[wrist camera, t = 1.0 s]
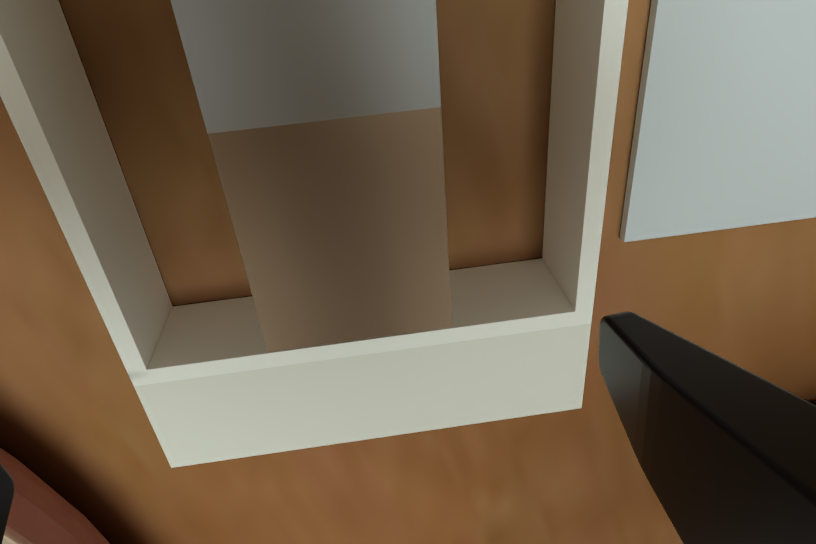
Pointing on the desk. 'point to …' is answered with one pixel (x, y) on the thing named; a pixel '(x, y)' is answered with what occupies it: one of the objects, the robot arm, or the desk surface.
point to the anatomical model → (42, 512)
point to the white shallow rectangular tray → (342, 361)
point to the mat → (723, 118)
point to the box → (328, 160)
